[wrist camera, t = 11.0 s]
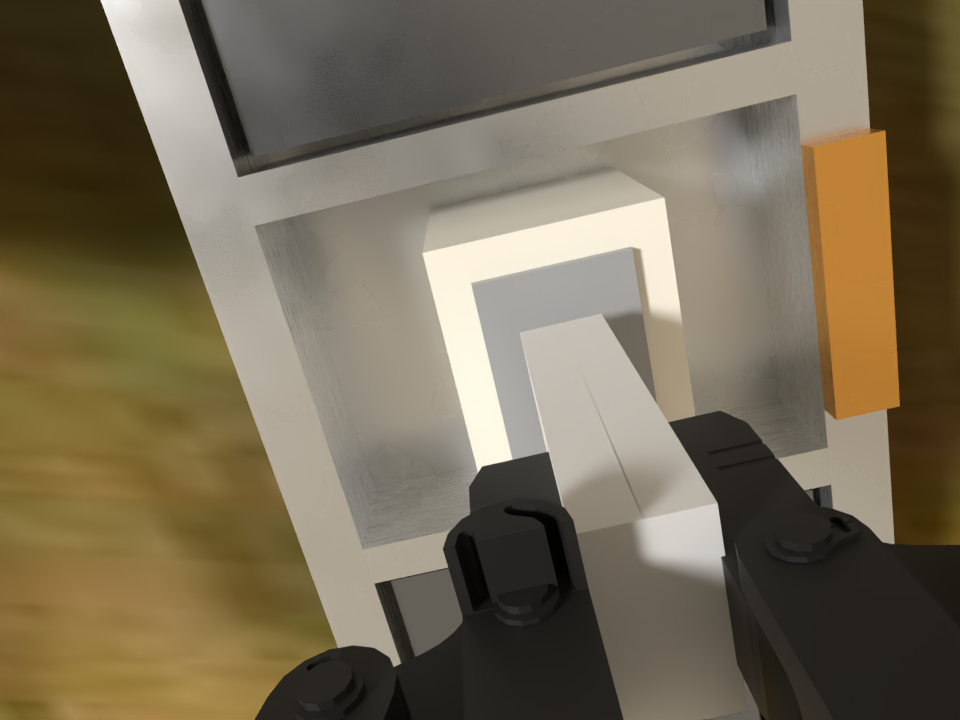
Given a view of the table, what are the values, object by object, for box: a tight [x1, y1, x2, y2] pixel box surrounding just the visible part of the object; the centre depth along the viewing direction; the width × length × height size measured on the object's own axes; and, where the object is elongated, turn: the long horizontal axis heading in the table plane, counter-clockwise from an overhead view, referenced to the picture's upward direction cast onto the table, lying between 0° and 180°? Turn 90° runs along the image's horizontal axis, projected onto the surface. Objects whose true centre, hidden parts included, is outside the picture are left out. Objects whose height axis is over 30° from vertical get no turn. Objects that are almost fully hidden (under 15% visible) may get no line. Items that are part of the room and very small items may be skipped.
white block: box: [422, 167, 695, 472], centre depth 18 cm, size 6×4×5 cm
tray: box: [101, 0, 900, 720], centre depth 19 cm, size 28×14×4 cm, turn 13°
